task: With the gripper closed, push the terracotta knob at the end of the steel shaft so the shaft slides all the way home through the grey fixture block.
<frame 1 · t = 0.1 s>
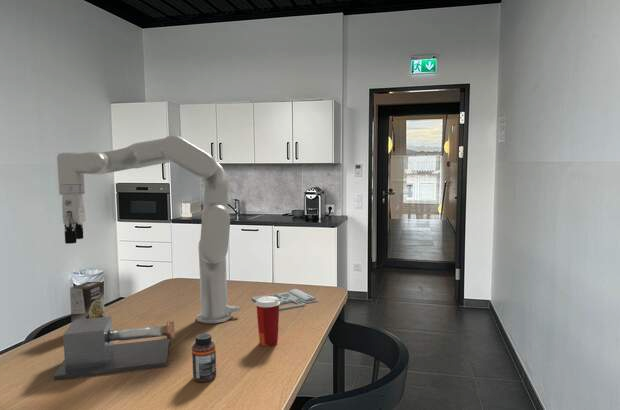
hand: (74, 241, 147), 31 cm above the table, tool pointing down, fingers open, 9 cm apart
paper cup: (268, 343, 137), on the table
shaft: (134, 333, 127), point 7 cm above the table, slide at 8.0 cm
grey fixture block: (90, 362, 125), on the table
supplement bottle: (204, 378, 114), on the table
coffee box: (89, 331, 150), on the table
office telephone: (286, 302, 181), on the table
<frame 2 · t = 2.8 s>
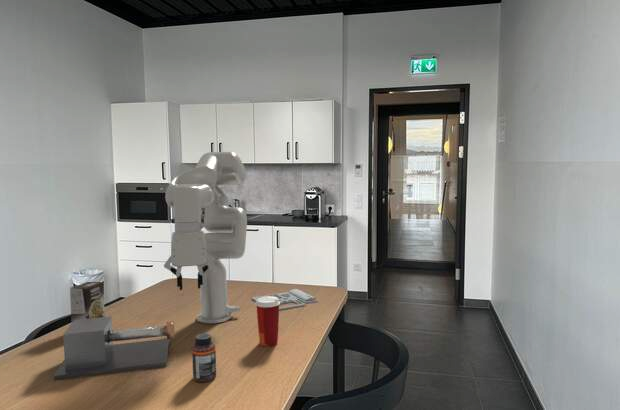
hand: (190, 287, 130), 19 cm above the table, tool pointing down, fingers open, 4 cm apart
nothing on the table moved.
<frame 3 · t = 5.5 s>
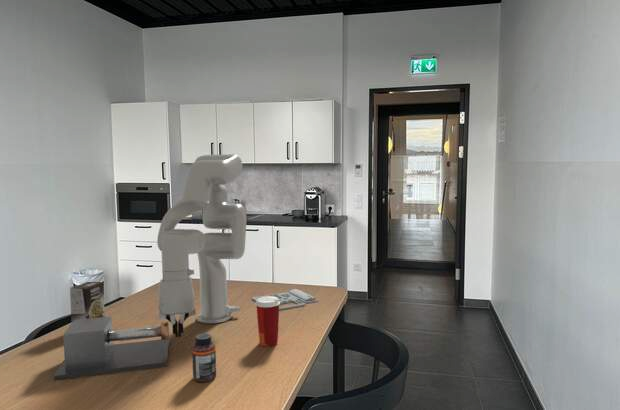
hand: (178, 335, 130), 5 cm above the table, tool pointing down, fingers closed
shaft: (128, 334, 127), point 7 cm above the table, slide at 6.3 cm, touching gripper
everything else where it was.
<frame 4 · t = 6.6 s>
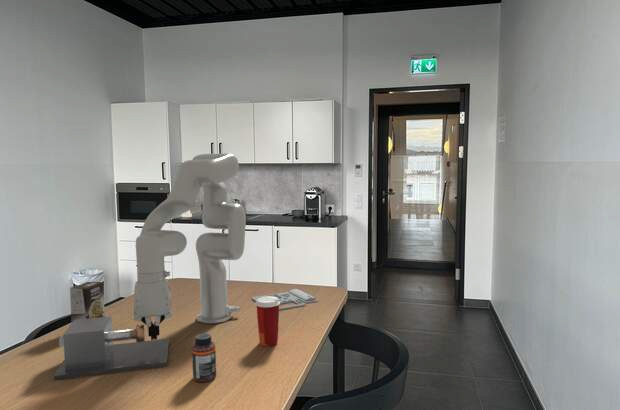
hand: (154, 338, 129), 5 cm above the table, tool pointing down, fingers closed
shaft: (103, 337, 125), point 7 cm above the table, slide at -0.4 cm, touching gripper
everything else where it was.
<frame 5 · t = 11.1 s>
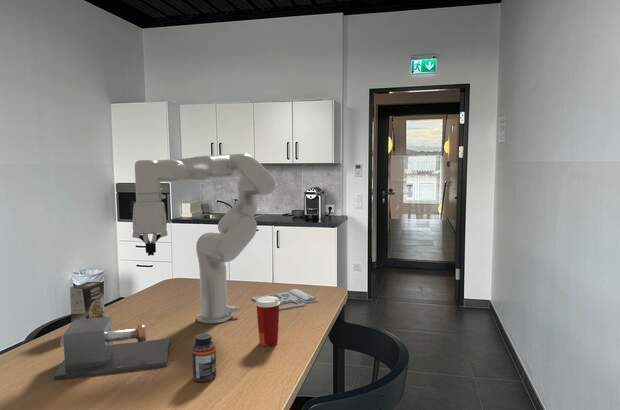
hand: (151, 254, 142), 27 cm above the table, tool pointing down, fingers closed
shaft: (104, 337, 125), point 7 cm above the table, slide at 0.0 cm
everything else where it was.
at the end: shaft slide at 0.0 cm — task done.
